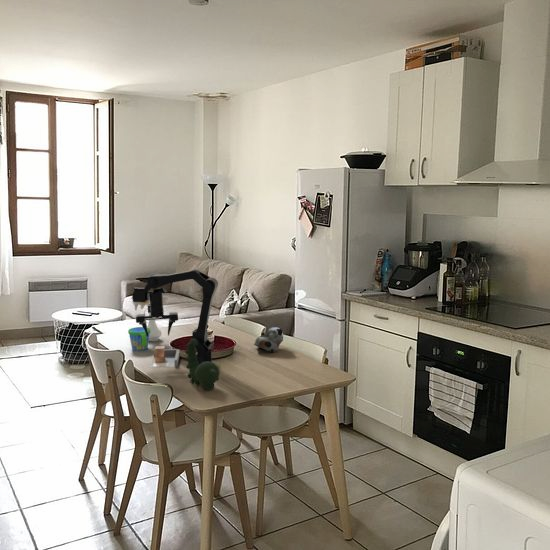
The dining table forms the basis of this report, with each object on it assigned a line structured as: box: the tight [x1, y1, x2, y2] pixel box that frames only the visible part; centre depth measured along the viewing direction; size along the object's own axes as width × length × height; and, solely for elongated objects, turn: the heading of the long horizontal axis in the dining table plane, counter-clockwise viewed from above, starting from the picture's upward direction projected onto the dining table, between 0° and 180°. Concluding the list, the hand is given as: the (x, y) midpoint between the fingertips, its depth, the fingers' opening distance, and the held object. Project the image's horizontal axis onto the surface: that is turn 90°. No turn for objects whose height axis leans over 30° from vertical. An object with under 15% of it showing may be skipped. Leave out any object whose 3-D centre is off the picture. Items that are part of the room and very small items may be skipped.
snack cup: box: [127, 326, 151, 352], centre depth 303 cm, size 16×10×10 cm
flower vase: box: [131, 293, 169, 342], centre depth 319 cm, size 13×18×25 cm
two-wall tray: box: [149, 348, 180, 369], centre depth 283 cm, size 12×18×3 cm, turn 6°
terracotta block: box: [154, 345, 166, 363], centre depth 284 cm, size 4×6×6 cm, turn 6°
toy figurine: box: [184, 338, 220, 390], centre depth 251 cm, size 9×19×25 cm
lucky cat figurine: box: [253, 326, 285, 354], centre depth 302 cm, size 15×12×14 cm
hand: (158, 335), depth 282 cm, fingers open, 9 cm apart
